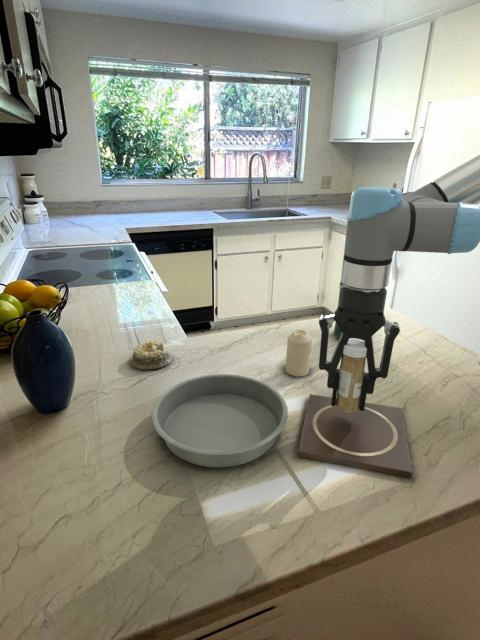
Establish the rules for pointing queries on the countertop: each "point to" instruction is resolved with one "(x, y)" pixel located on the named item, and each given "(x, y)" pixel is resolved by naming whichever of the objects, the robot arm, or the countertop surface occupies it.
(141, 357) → the cake
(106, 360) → the countertop surface
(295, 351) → the candle
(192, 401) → the cake pan
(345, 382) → the sprinkles bottle
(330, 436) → the board
